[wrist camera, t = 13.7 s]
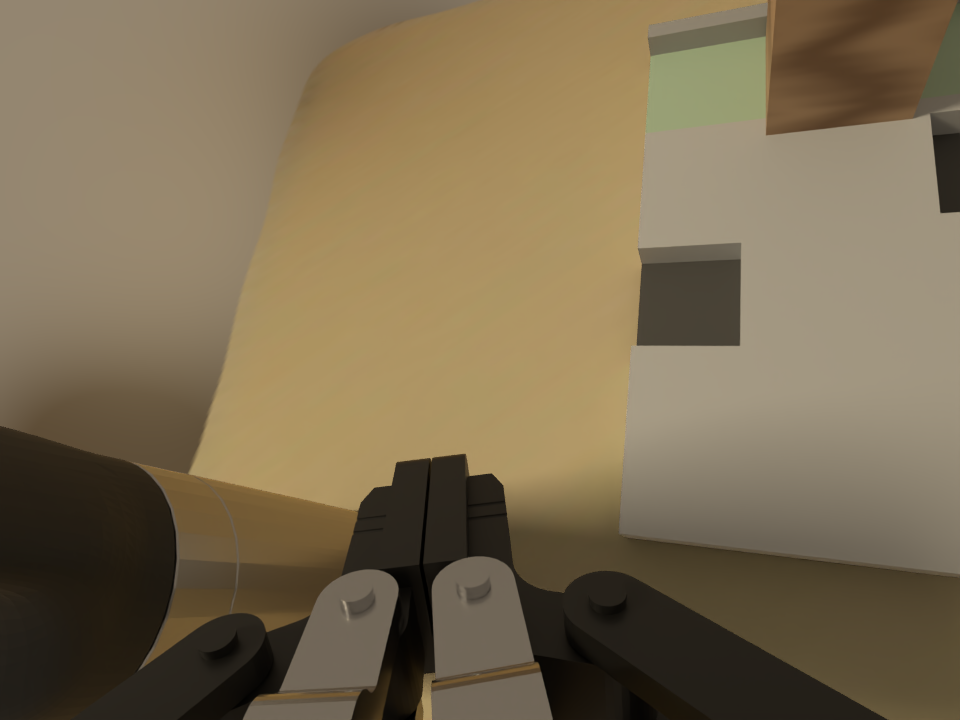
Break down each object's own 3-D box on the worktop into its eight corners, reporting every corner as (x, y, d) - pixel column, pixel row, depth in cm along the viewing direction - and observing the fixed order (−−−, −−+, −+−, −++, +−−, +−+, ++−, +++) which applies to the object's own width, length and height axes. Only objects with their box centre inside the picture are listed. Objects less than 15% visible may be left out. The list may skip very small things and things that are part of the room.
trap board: (626, 537, 33) (613, 530, 29) (655, 72, 42) (648, 25, 39) (1122, 597, 25) (1185, 598, 22) (1022, 13, 35) (1056, -53, 31)
